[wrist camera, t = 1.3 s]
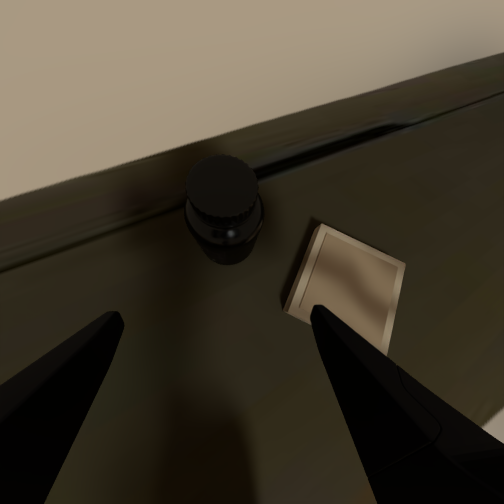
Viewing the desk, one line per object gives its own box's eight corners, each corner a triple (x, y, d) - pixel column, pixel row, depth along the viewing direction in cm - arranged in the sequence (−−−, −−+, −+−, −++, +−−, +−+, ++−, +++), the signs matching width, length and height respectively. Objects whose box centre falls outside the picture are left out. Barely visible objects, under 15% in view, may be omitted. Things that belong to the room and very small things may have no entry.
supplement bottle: (222, 206, 24) (215, 123, 13) (263, 235, 24) (294, 177, 12) (189, 245, 22) (144, 189, 11) (232, 277, 22) (234, 255, 10)
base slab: (371, 354, 22) (386, 360, 20) (282, 311, 22) (288, 312, 20) (392, 266, 25) (406, 263, 23) (314, 229, 25) (322, 222, 23)
